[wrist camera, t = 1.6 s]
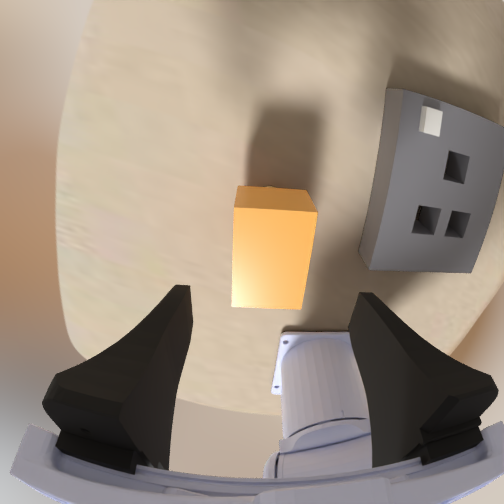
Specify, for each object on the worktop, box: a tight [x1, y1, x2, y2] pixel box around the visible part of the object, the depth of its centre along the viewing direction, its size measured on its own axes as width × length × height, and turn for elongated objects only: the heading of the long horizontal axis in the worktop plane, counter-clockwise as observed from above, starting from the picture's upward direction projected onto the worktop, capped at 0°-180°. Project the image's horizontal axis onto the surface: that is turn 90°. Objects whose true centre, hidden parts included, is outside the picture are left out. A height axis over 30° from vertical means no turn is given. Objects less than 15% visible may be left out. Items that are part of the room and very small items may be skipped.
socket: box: [358, 89, 504, 273], centre depth 17 cm, size 12×10×3 cm
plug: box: [232, 186, 318, 309], centre depth 18 cm, size 6×4×6 cm, turn 177°
